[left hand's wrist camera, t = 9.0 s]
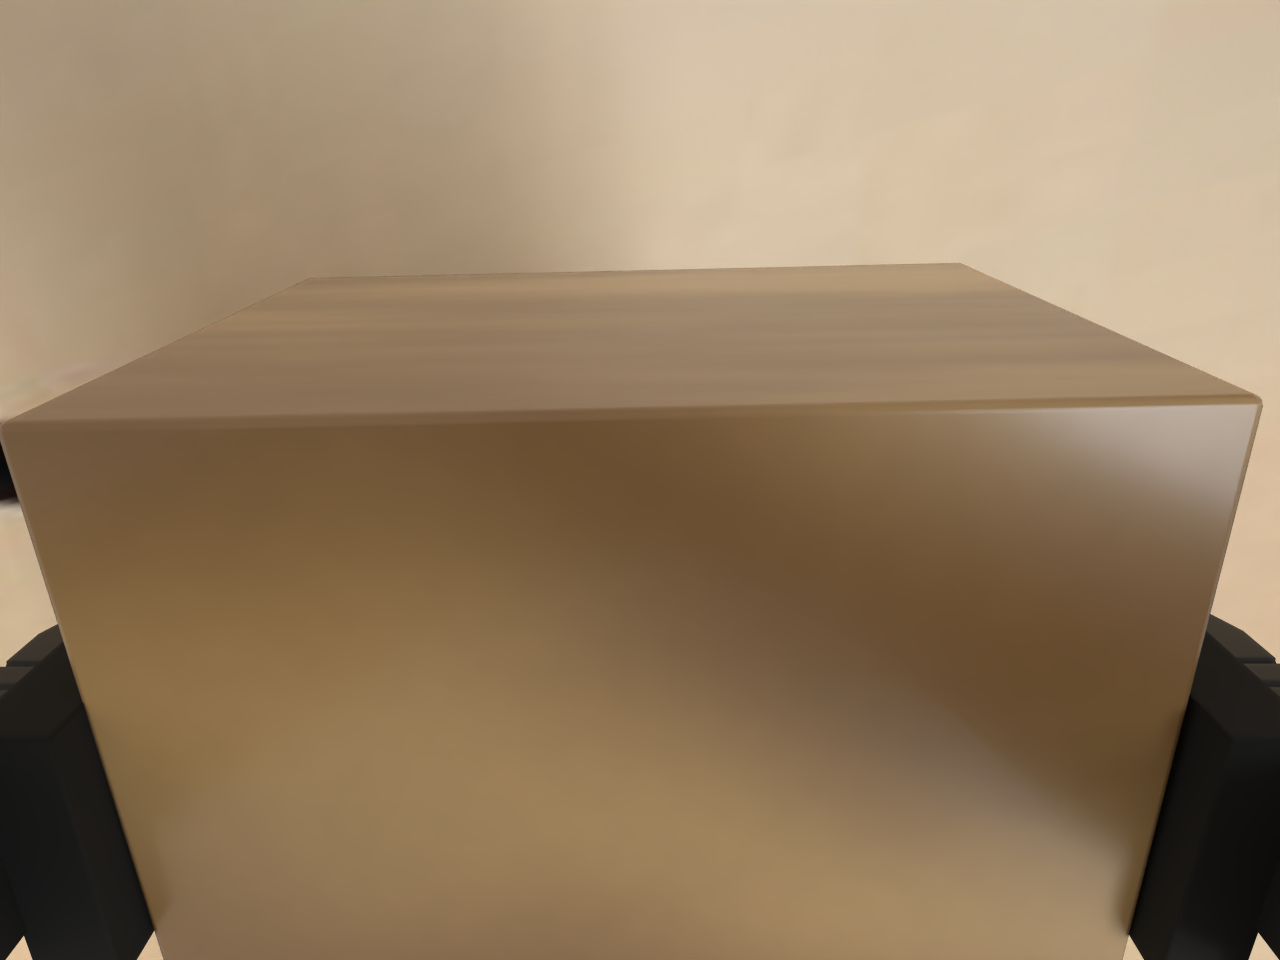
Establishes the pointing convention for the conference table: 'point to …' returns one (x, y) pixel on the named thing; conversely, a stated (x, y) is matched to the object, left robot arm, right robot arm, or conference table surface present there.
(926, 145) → the conference table surface
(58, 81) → the conference table surface
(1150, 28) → the conference table surface
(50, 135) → the conference table surface
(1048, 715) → the slab
